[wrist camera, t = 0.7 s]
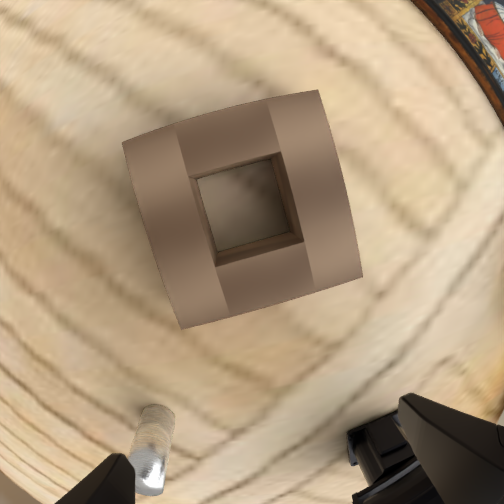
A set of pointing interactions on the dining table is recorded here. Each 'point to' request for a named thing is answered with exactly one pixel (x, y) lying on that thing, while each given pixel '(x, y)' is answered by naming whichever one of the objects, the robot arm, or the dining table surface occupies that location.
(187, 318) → the square hollow frame
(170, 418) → the cylinder
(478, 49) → the framed icon painting
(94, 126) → the dining table surface
